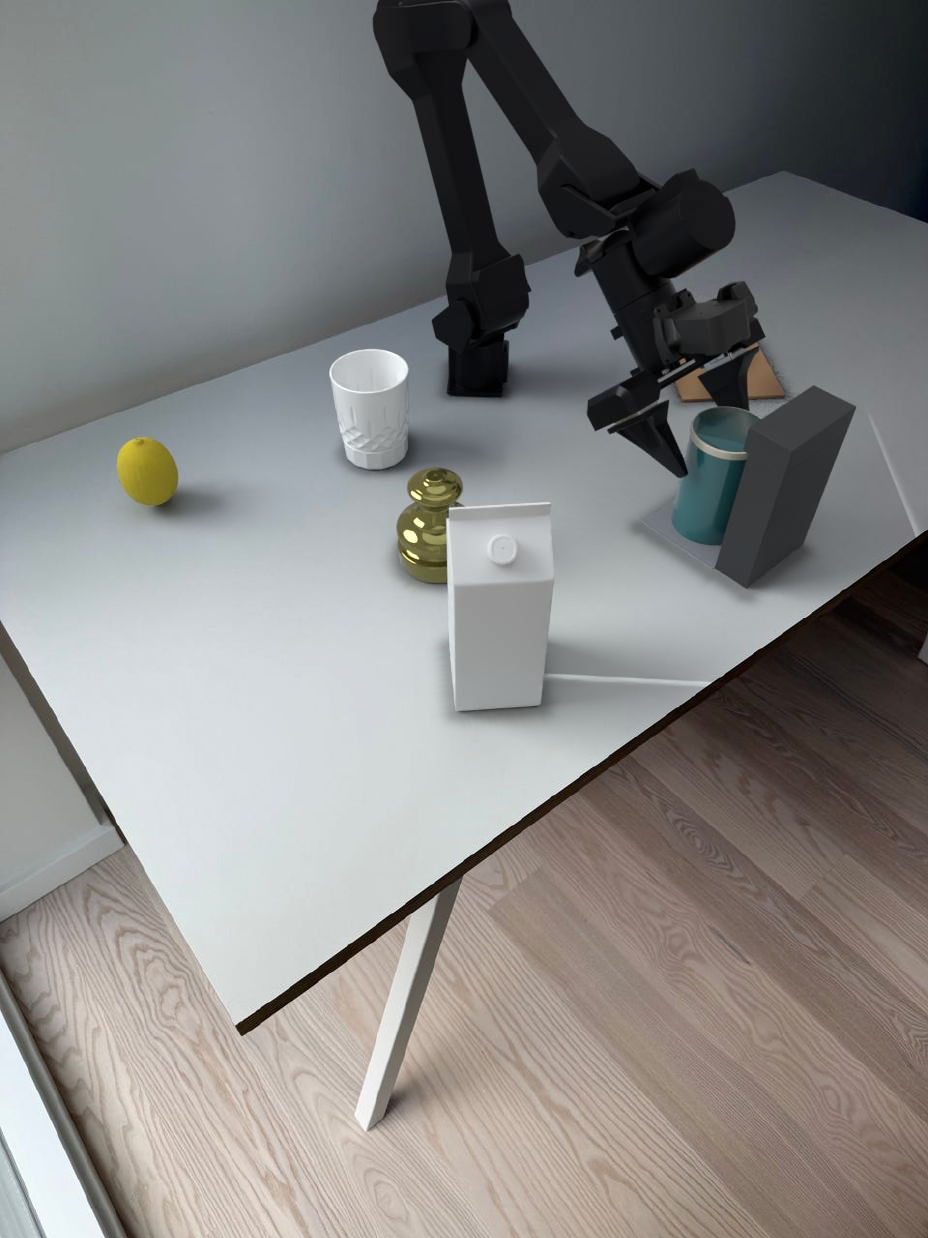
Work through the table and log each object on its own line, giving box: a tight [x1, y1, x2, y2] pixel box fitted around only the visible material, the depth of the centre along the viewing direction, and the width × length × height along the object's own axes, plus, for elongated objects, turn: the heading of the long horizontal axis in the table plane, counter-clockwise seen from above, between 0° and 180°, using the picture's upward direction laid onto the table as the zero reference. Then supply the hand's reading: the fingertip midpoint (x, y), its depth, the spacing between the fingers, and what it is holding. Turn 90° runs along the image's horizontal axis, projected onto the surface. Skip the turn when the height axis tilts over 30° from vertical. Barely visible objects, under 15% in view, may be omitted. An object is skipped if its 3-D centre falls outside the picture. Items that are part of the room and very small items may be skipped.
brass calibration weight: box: [396, 466, 466, 584], centre depth 82 cm, size 7×7×10 cm
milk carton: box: [446, 501, 555, 712], centre depth 69 cm, size 7×7×19 cm
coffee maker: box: [641, 385, 857, 589], centre depth 81 cm, size 12×10×16 cm
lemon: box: [116, 436, 179, 507], centre depth 88 cm, size 6×6×8 cm
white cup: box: [328, 348, 410, 470], centre depth 93 cm, size 8×8×10 cm
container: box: [671, 406, 762, 545], centre depth 83 cm, size 7×7×11 cm
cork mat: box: [674, 342, 786, 403], centre depth 106 cm, size 12×12×1 cm
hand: (715, 455), depth 82 cm, fingers open, 9 cm apart
